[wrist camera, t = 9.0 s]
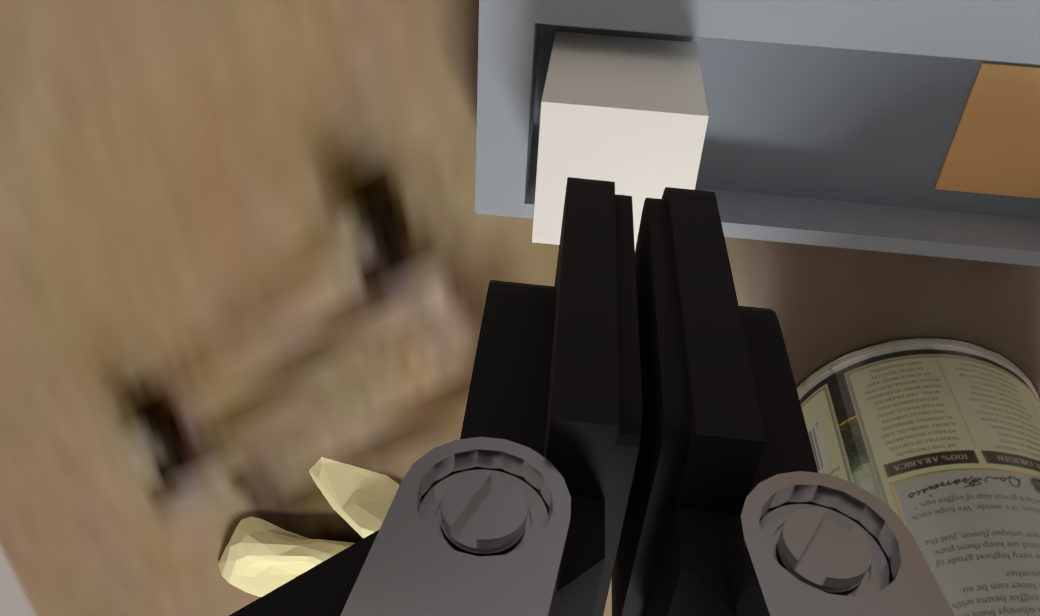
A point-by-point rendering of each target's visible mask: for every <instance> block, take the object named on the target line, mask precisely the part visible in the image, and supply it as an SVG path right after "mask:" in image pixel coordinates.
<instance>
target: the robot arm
mask: <svg viewBox="0 0 1040 616" xmlns="http://www.w3.org/2000/svg"><path fill="white" fill-rule="evenodd" d="M611 576H612V616H955V615H954V613H953V611H952V609H951V607H950V605H949V604H948V602H947V600H946V598H945V596H944V594H943V592H942V590H941V588H940V587H939V585H938V583H937V581H936V579H935V577H934V575H933V573H932V571H931V569H930V568H929V566H928V564H927V562H926V560H925V558H924V556H923V554H922V552H921V551H920V549H919V547H918V545H917V543H916V541H915V539H914V537H913V536H912V534H911V533H910V531H909V530H908V529H907V527H906V526H905V524H904V523H903V522H902V520H901V519H900V517H899V516H898V515H897V514H896V513H895V512H894V511H893V510H892V509H891V508H889V507H888V506H887V505H886V504H885V503H884V502H883V501H881V500H880V499H879V498H878V497H877V496H875V495H873V494H872V493H870V492H868V491H866V490H864V489H863V488H861V487H859V486H857V485H856V484H854V483H852V482H849V481H846V480H843V479H840V478H837V477H834V476H831V475H828V474H823V473H818V469H817V465H816V461H815V458H814V454H813V450H812V446H811V442H810V439H809V435H808V431H807V427H806V423H805V419H804V416H803V412H802V408H801V404H800V400H799V397H798V393H797V389H796V385H795V381H794V377H793V374H792V370H791V366H790V362H789V358H788V355H787V351H786V347H785V343H784V339H783V335H782V332H781V328H780V324H779V320H778V318H777V316H776V313H775V312H774V311H773V310H771V309H765V308H755V307H745V306H738V301H737V297H736V292H735V287H734V282H733V277H732V272H731V267H730V263H729V258H728V253H727V248H726V243H725V238H724V233H723V229H722V224H721V219H720V214H719V209H718V204H717V199H716V195H715V193H714V192H711V191H701V190H691V189H681V188H671V187H666V188H665V189H664V192H663V195H662V199H656V198H646V199H645V201H644V205H643V210H642V215H641V221H640V227H639V232H638V238H637V243H636V249H635V246H634V226H633V206H632V196H626V195H617V194H615V182H612V181H602V180H592V179H582V178H572V177H568V178H567V185H566V193H565V202H564V210H563V219H562V227H561V236H560V245H559V253H558V262H557V270H556V279H555V287H553V286H543V285H533V284H524V283H514V282H504V281H495V280H491V281H490V283H489V287H488V292H487V298H486V303H485V308H484V314H483V319H482V325H481V330H480V335H479V341H478V346H477V351H476V357H475V362H474V368H473V373H472V378H471V384H470V389H469V395H468V400H467V405H466V411H465V416H464V421H463V427H462V432H461V438H460V439H459V440H454V441H452V442H449V443H446V444H444V445H441V446H439V447H436V448H433V449H432V450H431V451H429V452H428V453H426V454H425V455H424V456H422V457H421V458H420V459H418V460H417V461H416V462H414V464H413V465H412V467H411V468H410V470H409V471H408V472H407V474H406V475H405V477H404V478H403V480H402V481H401V484H400V486H399V488H398V490H397V492H396V495H395V497H394V499H393V501H392V503H391V506H390V508H389V510H388V512H387V514H386V516H385V519H384V521H383V523H382V525H381V527H380V529H379V530H377V531H376V532H374V533H372V534H370V535H369V536H367V537H365V538H363V539H362V540H360V541H358V542H357V543H355V544H353V545H351V546H350V547H348V548H346V549H344V550H343V551H341V552H339V553H337V554H336V555H334V556H332V557H330V558H329V559H327V560H325V561H323V562H322V563H320V564H318V565H316V566H315V567H313V568H311V569H310V570H308V571H306V572H304V573H303V574H301V575H299V576H297V577H296V578H294V579H292V580H290V581H289V582H287V583H285V584H283V585H282V586H280V587H278V588H276V589H275V590H273V591H271V592H270V593H268V594H266V595H264V596H263V597H261V598H259V599H257V600H256V601H254V602H252V603H250V604H249V605H247V606H245V607H243V608H242V609H240V610H238V611H236V612H235V613H233V614H231V615H229V616H603V613H604V609H605V604H606V599H607V595H608V590H609V586H610V581H611Z"/></svg>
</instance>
